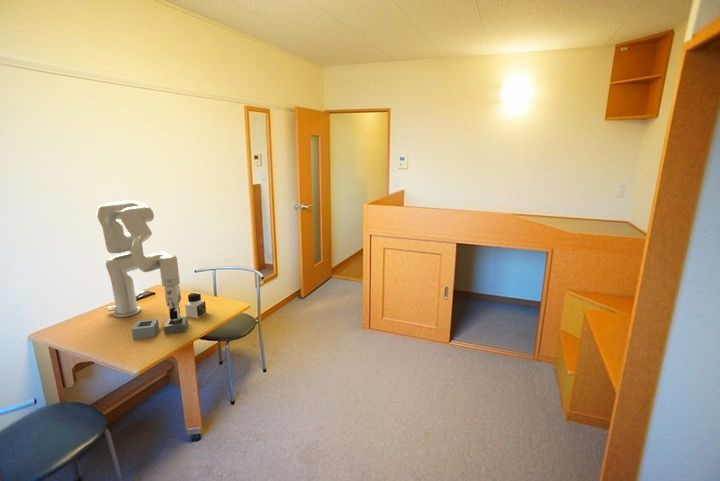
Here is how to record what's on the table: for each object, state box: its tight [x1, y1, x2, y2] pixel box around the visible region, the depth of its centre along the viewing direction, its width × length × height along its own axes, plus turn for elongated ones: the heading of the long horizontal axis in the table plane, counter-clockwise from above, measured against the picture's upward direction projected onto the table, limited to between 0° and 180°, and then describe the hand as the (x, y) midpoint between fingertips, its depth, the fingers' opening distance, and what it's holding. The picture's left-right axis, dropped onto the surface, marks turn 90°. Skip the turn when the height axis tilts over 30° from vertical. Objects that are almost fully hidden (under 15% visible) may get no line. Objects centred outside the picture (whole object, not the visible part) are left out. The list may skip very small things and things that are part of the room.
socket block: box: [131, 318, 160, 340], centre depth 173 cm, size 9×9×5 cm
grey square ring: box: [163, 315, 189, 335], centre depth 177 cm, size 9×9×4 cm
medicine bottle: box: [184, 292, 207, 319], centre depth 191 cm, size 7×7×12 cm
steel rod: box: [171, 304, 181, 324], centre depth 176 cm, size 4×4×12 cm
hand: (175, 315), depth 176 cm, fingers open, 5 cm apart
